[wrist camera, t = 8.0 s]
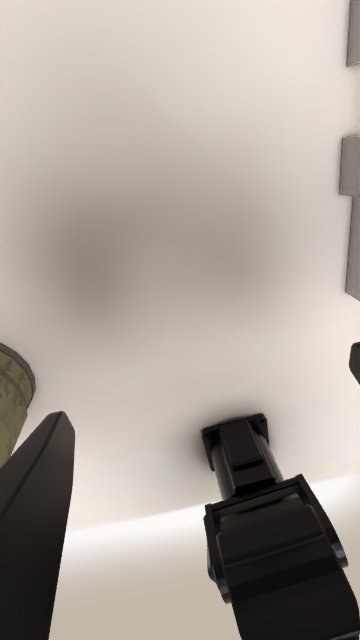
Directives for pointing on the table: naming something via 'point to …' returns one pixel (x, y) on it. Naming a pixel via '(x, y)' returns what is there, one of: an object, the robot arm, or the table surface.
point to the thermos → (13, 399)
